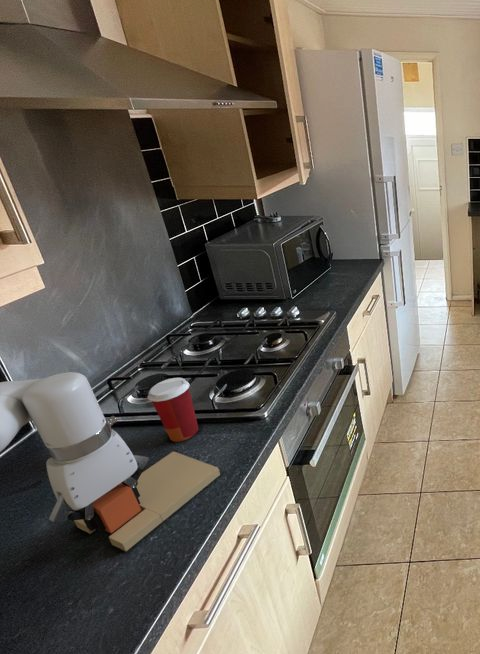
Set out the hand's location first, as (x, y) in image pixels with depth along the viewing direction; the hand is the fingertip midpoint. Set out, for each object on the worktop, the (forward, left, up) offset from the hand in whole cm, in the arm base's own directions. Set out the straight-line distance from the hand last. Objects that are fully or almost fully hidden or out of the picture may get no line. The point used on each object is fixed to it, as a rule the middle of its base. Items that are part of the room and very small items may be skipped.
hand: (116, 514), depth 79 cm
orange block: (0, 0, -1) cm, 1 cm away
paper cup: (+21, +13, -3) cm, 25 cm away
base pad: (+6, 0, -3) cm, 6 cm away
